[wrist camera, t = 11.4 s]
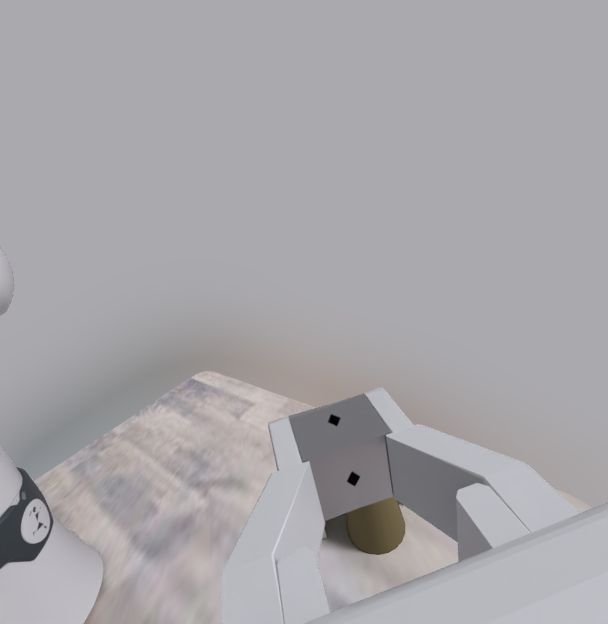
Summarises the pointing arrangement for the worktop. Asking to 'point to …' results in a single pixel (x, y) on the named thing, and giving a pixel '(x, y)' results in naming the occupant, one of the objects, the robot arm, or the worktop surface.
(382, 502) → the cork
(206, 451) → the worktop surface
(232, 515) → the worktop surface
